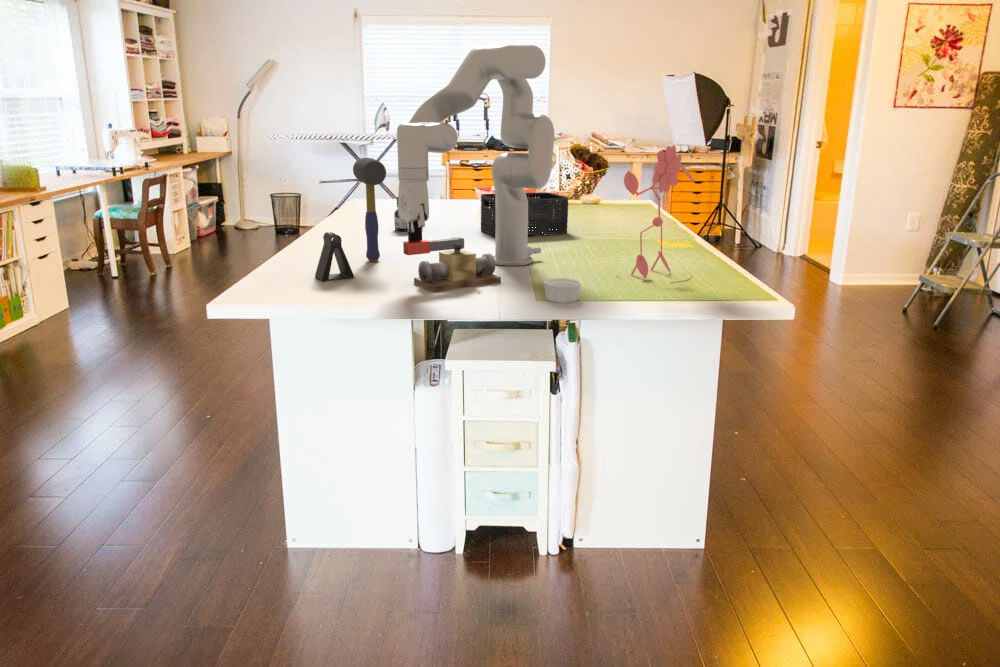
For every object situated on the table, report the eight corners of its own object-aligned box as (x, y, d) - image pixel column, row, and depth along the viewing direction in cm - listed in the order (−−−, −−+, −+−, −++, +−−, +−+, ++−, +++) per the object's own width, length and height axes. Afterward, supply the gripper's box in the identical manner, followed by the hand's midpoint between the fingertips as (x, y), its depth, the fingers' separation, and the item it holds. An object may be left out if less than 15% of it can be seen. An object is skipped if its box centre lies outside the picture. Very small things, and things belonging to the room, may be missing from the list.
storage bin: (548, 226, 295) (549, 191, 291) (570, 234, 277) (572, 196, 274) (477, 230, 285) (477, 193, 281) (496, 239, 267) (496, 200, 264)
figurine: (609, 278, 208) (618, 145, 197) (665, 265, 225) (676, 142, 214) (656, 290, 197) (668, 150, 186) (711, 275, 214) (725, 146, 203)
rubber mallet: (391, 263, 226) (387, 159, 217) (366, 266, 223) (361, 159, 214) (379, 256, 236) (375, 156, 228) (355, 258, 233) (350, 156, 225)
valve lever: (460, 247, 202) (460, 235, 202) (466, 249, 200) (466, 238, 199) (403, 253, 194) (402, 241, 194) (408, 255, 192) (408, 243, 191)
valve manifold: (479, 274, 212) (479, 242, 210) (500, 282, 204) (501, 248, 201) (414, 283, 202) (413, 249, 199) (434, 292, 193) (433, 256, 190)
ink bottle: (391, 228, 287) (390, 196, 283) (414, 227, 290) (413, 195, 287) (399, 232, 278) (398, 199, 275) (422, 231, 282) (421, 198, 278)
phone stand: (321, 281, 203) (318, 236, 200) (314, 277, 208) (311, 233, 205) (354, 278, 208) (352, 233, 204) (346, 273, 213) (344, 230, 209)
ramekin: (577, 294, 192) (578, 277, 190) (582, 303, 183) (583, 286, 182) (542, 295, 191) (542, 278, 190) (545, 304, 183) (545, 286, 181)
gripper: (388, 172, 197) (391, 243, 202) (410, 177, 184) (412, 253, 190) (416, 171, 200) (418, 241, 206) (439, 176, 188) (440, 251, 193)
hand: (415, 247), depth 198 cm, fingers closed
